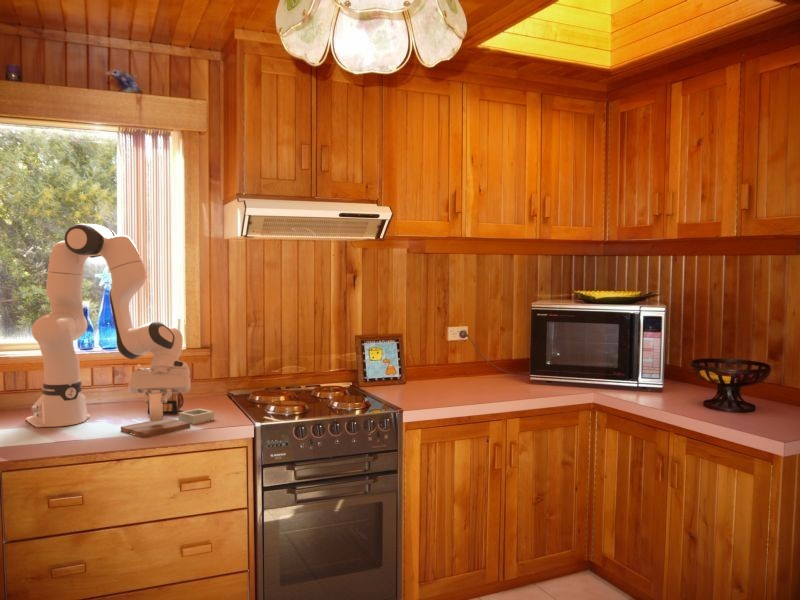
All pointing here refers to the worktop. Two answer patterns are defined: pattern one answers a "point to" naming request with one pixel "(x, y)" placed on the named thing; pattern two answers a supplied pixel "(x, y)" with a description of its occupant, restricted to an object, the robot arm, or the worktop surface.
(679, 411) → the worktop surface
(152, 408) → the pepper mill
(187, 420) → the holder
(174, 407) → the ammunition clip
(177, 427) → the cutting board
